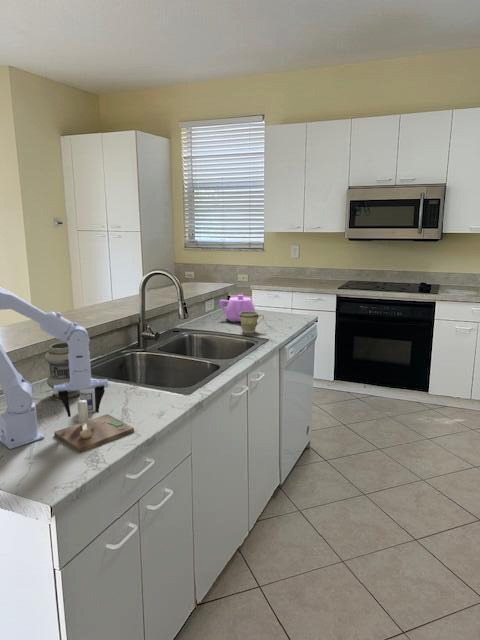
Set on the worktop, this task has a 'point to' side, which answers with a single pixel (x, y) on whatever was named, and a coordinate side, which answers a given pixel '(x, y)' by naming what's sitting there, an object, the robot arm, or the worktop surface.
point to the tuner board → (94, 432)
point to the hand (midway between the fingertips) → (83, 413)
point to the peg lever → (83, 419)
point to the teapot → (237, 307)
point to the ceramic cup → (249, 321)
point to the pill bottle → (88, 398)
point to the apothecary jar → (59, 368)
